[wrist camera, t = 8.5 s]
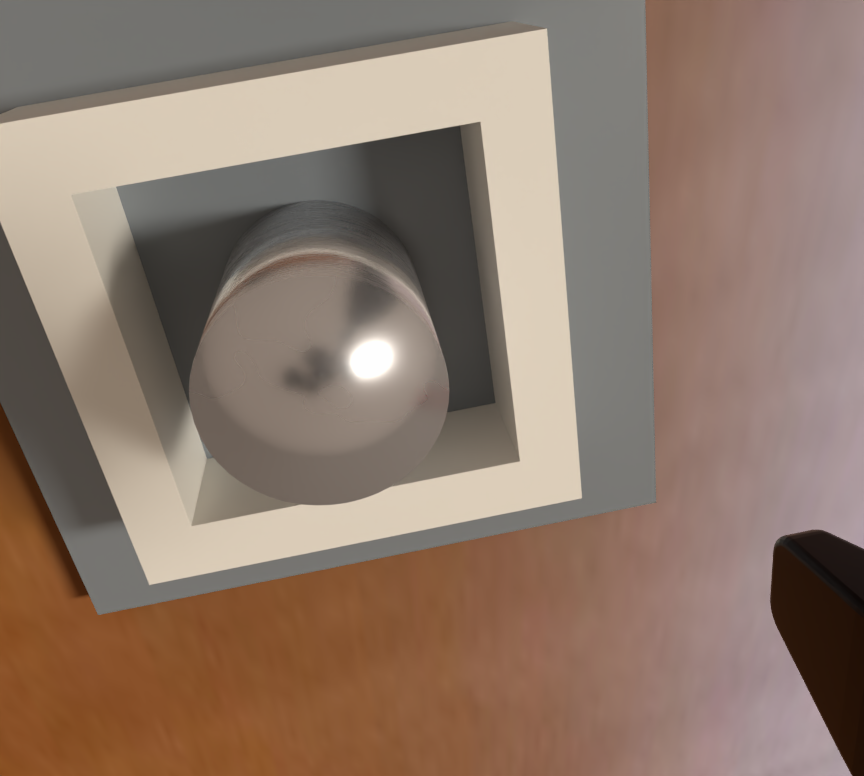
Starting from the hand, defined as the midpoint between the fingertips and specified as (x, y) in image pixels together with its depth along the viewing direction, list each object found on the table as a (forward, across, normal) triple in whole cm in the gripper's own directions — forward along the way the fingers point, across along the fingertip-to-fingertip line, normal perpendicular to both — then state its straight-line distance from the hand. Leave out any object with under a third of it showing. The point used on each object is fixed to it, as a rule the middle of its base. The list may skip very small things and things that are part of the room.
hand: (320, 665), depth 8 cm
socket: (+11, 0, 0) cm, 11 cm away
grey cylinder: (+10, 0, 0) cm, 10 cm away
